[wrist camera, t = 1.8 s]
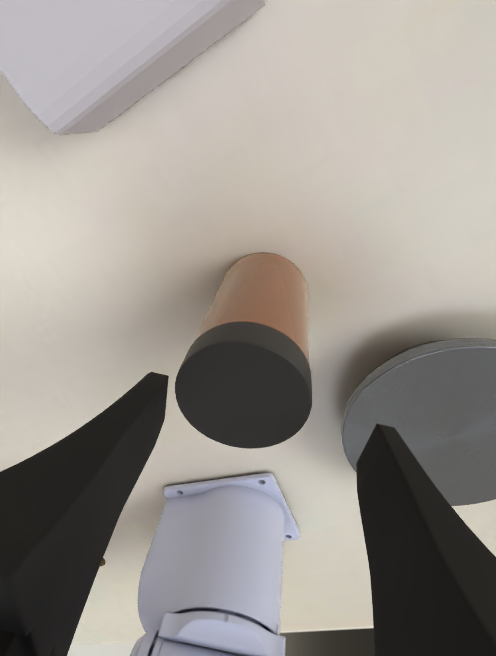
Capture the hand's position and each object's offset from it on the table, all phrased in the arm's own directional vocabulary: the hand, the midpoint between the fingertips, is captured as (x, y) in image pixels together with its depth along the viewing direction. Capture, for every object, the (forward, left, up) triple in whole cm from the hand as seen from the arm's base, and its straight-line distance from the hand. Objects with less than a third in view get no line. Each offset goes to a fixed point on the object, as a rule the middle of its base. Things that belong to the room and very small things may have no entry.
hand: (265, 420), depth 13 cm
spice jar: (-1, +1, -10) cm, 10 cm away
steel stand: (+7, -9, -10) cm, 15 cm away
